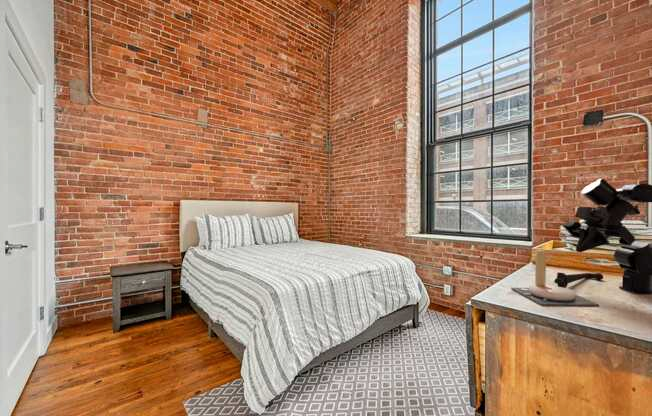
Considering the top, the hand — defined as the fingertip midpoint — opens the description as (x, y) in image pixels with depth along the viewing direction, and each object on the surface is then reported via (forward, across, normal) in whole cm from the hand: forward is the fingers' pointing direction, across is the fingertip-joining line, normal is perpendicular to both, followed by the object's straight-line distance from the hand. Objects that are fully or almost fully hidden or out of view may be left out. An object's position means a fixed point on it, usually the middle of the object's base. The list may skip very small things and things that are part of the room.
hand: (577, 251), depth 94 cm
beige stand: (+17, +4, +1) cm, 18 cm away
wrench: (+4, -6, +14) cm, 15 cm away
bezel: (+17, +4, +1) cm, 18 cm away
